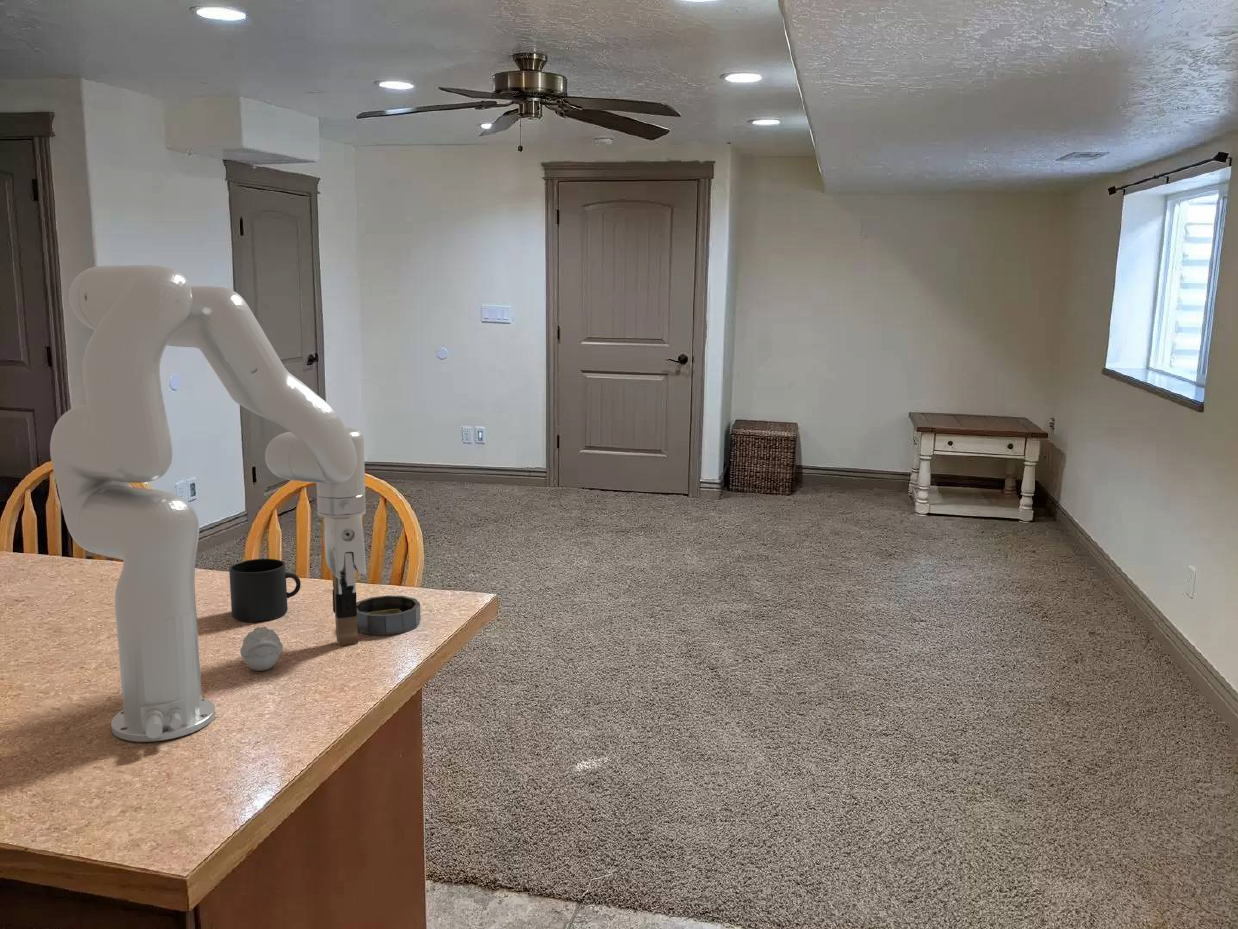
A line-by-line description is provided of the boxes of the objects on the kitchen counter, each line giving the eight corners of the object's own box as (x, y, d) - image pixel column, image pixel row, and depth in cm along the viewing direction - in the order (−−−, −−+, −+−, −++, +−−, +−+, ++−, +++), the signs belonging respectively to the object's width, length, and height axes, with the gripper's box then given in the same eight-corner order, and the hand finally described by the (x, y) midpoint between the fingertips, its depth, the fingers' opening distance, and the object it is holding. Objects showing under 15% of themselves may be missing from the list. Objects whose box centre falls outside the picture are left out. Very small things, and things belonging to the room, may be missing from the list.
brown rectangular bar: (358, 642, 161) (353, 572, 158) (339, 645, 159) (334, 575, 157) (355, 638, 163) (350, 569, 160) (336, 641, 161) (332, 571, 159)
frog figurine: (243, 681, 144) (240, 636, 143) (239, 665, 151) (237, 622, 149) (286, 675, 147) (284, 631, 146) (280, 659, 153) (278, 617, 152)
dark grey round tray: (426, 630, 167) (426, 610, 167) (361, 639, 162) (360, 619, 162) (410, 611, 177) (410, 592, 177) (347, 619, 172) (347, 600, 172)
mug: (307, 616, 174) (304, 567, 172) (235, 626, 168) (232, 575, 167) (296, 601, 182) (294, 554, 181) (228, 610, 176) (225, 562, 175)
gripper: (375, 512, 152) (378, 626, 155) (355, 494, 166) (358, 598, 169) (326, 516, 148) (330, 632, 151) (309, 497, 162) (313, 603, 165)
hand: (344, 613), depth 160 cm, fingers closed on brown rectangular bar, 2 cm apart
